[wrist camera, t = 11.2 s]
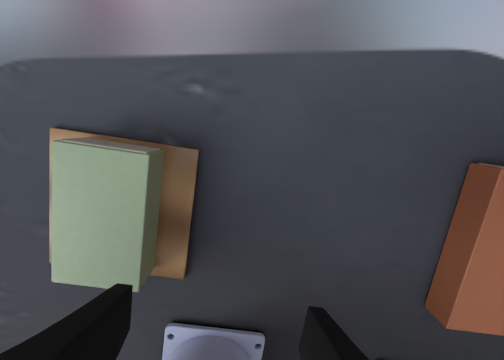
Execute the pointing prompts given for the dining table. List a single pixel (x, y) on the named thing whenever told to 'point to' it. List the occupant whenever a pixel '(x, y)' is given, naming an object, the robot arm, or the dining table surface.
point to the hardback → (473, 257)
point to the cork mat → (171, 200)
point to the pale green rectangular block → (104, 212)
